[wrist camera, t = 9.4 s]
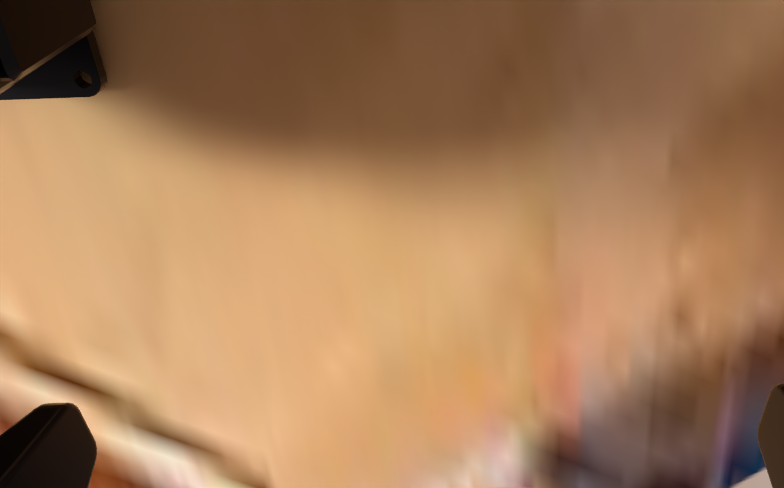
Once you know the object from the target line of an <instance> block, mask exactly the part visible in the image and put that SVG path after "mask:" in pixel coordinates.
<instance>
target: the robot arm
mask: <svg viewBox="0 0 784 488" xmlns="http://www.w3.org/2000/svg"><path fill="white" fill-rule="evenodd" d="M95 24H96V20H95V17H94V13H93V10H92V7H91V3H90V0H0V100H12V99H41V98H71V97H90V96H94V95H96V94H97V93H98V92H99V91H100V90H102V89H103V88H104V87H105V85H106V82H107V77H106V72H105V69H104V66H103V62H102V59H101V56H100V52H99V49H98V46H97V43H96V39H95V36H94V33H93V28H94V26H95ZM80 71H84V72H86V73H87V74H89V75H90V77H91V79H92V84H91V83H87V82H86V81H84V80H83V79H82V77H81V75H80ZM757 435H758V443H759V447H760V450H761V453H762V457H763V460H764V463H765V466H766V469H767V472H768V474H769V477H770V481H771V484H772V487H773V488H784V383H780V384H776V385H775V386H774V387H773V388H772V389H771V391H770V394H769V397H768V400H767V402H766V405H765V408H764V411H763V414H762V417H761V420H760V423H759V426H758V432H757ZM96 456H97V447H96V442H95V440H94V438H93V436H92V434H91V432H90V430H89V428H88V426H87V424H86V422H85V420H84V418H83V416H82V414H81V412H80V410H79V409H78V407H77V406H75V405H74V404H72V403H47V404H43V405H40V406H39V407H37V408H36V409H34V410H33V411H32V412H30V413H29V414H28V415H26V416H25V417H24V418H22V419H21V420H20V421H18V422H17V423H16V424H14V425H13V426H12V427H10V428H9V429H8V430H7V431H5V432H4V433H3V434H1V435H0V488H88V487H89V483H90V479H91V476H92V472H93V469H94V465H95V461H96Z"/></svg>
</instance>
